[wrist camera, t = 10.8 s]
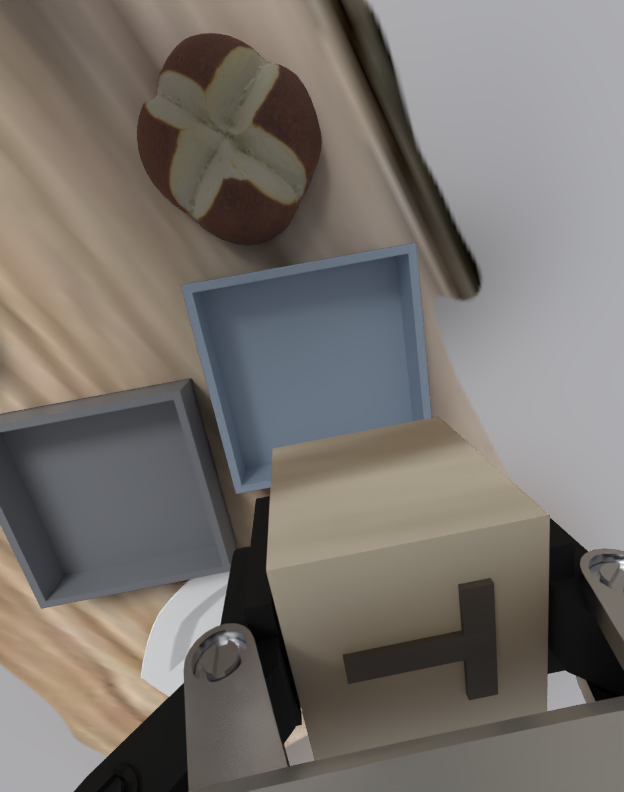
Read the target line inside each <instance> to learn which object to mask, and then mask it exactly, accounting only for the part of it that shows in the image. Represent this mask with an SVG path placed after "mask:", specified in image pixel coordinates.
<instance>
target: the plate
mask: <svg viewBox="0 0 624 792" xmlns="http://www.w3.org/2000/svg"><path fill="white" fill-rule="evenodd" d="M229 573H230V571H229V572H224V573H219V574H214V575H209V576H204V577H199V578H194V579H190V580H188V581H187V582H186V583H185V584H184V585H183V586H182V587H181V588H180V589H179V590H178V591H177V592H176V593H175V594H174V595H173V596H172V597H171V598H170V599H169V601H168V602H167V603H166V605H165V606H164V607H163V608H162V610H161V611H160V612H159V614H158V616H157V618H156V620H155V622H154V625H153V627H152V629H151V632H150V635H149V639H148V642H147V645H146V650H145V654H144V659H143V664H142V671H141V678H142V679H144V680H145V681H147V682H148V683H149V684H151V685H152V686H154V687H155V688H157V689H158V690H160V691H161V692H163V693H164V694H166V695H167V696H169V697H170V696H171V695H172V694H173V693H174V692H175V691H176V690H177V689H178V688H179V687H180V686H181V685H182V684H183V683H184V672H183V670H184V662H185V658H186V656H187V654H188V652H189V649H190V648H191V647H192V646H193V644H194V643H195V642H196V640H197V639H198V638H200V637H201V636H202V635H203V634H204V633H205V632H207V631H209V630H211V629H212V628H214V627H216V626H220V624H221V618H222V612H223V607H224V601H225V596H226V590H227V585H228V579H229ZM301 711H302V709H301Z"/></svg>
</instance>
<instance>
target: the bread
mask: <svg viewBox="0 0 624 792" xmlns="http://www.w3.org/2000/svg"><path fill="white" fill-rule="evenodd" d="M137 141H138V149H139V153H140V158H141V161H142V163H143V166H144V168H145V170H146V172H147V174H148V175H149V177H150V179H151V181H152V182H153V183H154V185H155V186H156V187H157V188H158V190H159V191H160V192H161V193H162V194H163V196H164V197H166V198H167V199H168V200H169V201H170V202H171V203H172V204H174V205H175V206H176V207H178V208H179V209H181V210H182V211H184V212H185V213H187V214H189V215H190V216H192V217H193V218H194V219H195V220H196V221H198V222H199V223H200V224H201V225H202V226H203V227H204V228H205V229H206V230H208V231H209V232H211V233H212V234H214V235H216V236H217V237H219V238H221V239H223V240H226V241H229V242H232V243H235V244H242V245H254V244H259V243H262V242H265V241H267V240H270V239H272V238H273V237H275V236H276V235H278V234H279V233H281V232H282V231H283V230H284V229H285V228H286V227H287V226H288V224H289V223H290V221H291V220H292V218H293V216H294V214H295V212H296V210H297V208H298V204H299V202H300V200H301V198H302V197H303V195H304V194H305V192H306V190H307V188H308V186H309V184H310V182H311V179H312V177H313V174H314V171H315V169H316V166H317V163H318V160H319V156H320V151H321V132H320V128H319V123H318V119H317V115H316V112H315V109H314V106H313V103H312V101H311V98H310V96H309V94H308V92H307V90H306V88H305V86H304V85H303V83H302V82H301V81H300V79H299V78H298V77H297V75H296V74H294V73H293V72H292V71H290V70H289V69H287V68H285V67H283V66H281V65H278V64H272V63H270V62H268V61H266V60H264V59H263V58H262V57H261V56H260V55H259V54H258V53H257V52H256V51H255V50H254V49H253V48H252V47H250V46H248V45H247V44H245V43H244V42H242V41H240V40H238V39H235V38H233V37H231V36H227V35H222V34H213V33H208V34H199V35H195V36H192V37H189V38H187V39H185V40H184V41H182V42H181V43H180V44H179V45H178V46H177V47H176V48H175V49H174V50H173V51H172V53H171V54H170V55H169V57H168V58H167V60H166V62H165V64H164V66H163V68H162V70H161V72H160V75H159V79H158V85H157V96H155V97H154V98H153V99H152V100H149V101H147V102H146V103H144V105H143V107H142V109H141V112H140V115H139V120H138V126H137Z"/></svg>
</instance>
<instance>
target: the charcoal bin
mask: <svg viewBox="0 0 624 792" xmlns="http://www.w3.org/2000/svg"><path fill="white" fill-rule="evenodd" d="M0 525H1V527H2V529H3V531H4V533H5V535H6V537H7V539H8V541H9V543H10V545H11V547H12V549H13V552H14V554H15V556H16V558H17V560H18V562H19V564H20V566H21V568H22V570H23V572H24V574H25V576H26V578H27V580H28V583H29V585H30V587H31V589H32V591H33V593H34V595H35V597H36V599H37V601H38V603H39V605H40V607H41V609H42V608H47V607H52V606H57V605H62V604H67V603H72V602H77V601H82V600H87V599H93V598H98V597H103V596H108V595H113V594H118V593H123V592H128V591H133V590H138V589H143V588H148V587H153V586H158V585H163V584H169V583H174V582H179V581H184V580H189V579H194V578H199V577H204V576H209V575H214V574H219V573H224V572H229V571H230V568H231V562H232V557H233V553H234V551H235V549H236V540H235V536H234V532H233V529H232V525H231V522H230V518H229V514H228V511H227V507H226V503H225V500H224V496H223V493H222V489H221V485H220V482H219V478H218V474H217V471H216V467H215V464H214V460H213V456H212V453H211V449H210V445H209V442H208V438H207V435H206V431H205V427H204V424H203V420H202V417H201V413H200V409H199V406H198V402H197V398H196V395H195V391H194V388H193V384H192V380H191V378H190V379H185V380H180V381H174V382H169V383H164V384H158V385H153V386H148V387H142V388H137V389H131V390H126V391H121V392H115V393H110V394H105V395H99V396H94V397H89V398H83V399H78V400H73V401H67V402H62V403H56V404H51V405H46V406H40V407H35V408H30V409H24V410H19V411H14V412H8V413H3V414H0Z"/></svg>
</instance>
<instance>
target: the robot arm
mask: <svg viewBox="0 0 624 792" xmlns="http://www.w3.org/2000/svg"><path fill="white" fill-rule="evenodd" d="M269 507H270V496H268V497H263V498H258V499H256V504H255V513H254V521H253V530H252V538H251V547H246V548H241V549H236V550H235V551H234V553H233V557H232V562H231V568H230V573H229V579H228V585H227V590H226V596H225V601H224V607H223V612H222V618H221V624H220V626H216V627H214V628H212V629H211V630H209V631H207V632H205V633H204V634H203V635H202V636H201V637H200V638H198V639H197V640H196V642H195V643H194V644H193V646H192V647H191V648H190V649H189V652H188V654H187V656H186V658H185V662H184V670H183V672H184V683H183V684H182V685H181V686H180V687H179V688H178V689H177V690H176V691H175V692H174V693H173V694H172V695H171V696H170V697H169V698H168V699H166V700H165V701H164V702H163V703H162V704H161V705H160V706H159V707H158V708H157V709H156V710H155V711H154V712H153V713H152V714H151V715H150V716H149V717H148V718H147V719H146V720H145V721H144V722H143V723H142V724H141V725H140V726H139V727H138V728H137V729H136V730H135V731H134V732H133V733H131V734H130V735H129V736H128V737H127V738H126V739H125V740H124V741H123V742H122V743H121V744H120V745H119V746H118V747H117V748H116V749H115V750H114V751H113V752H112V753H111V754H110V755H109V756H108V757H107V758H106V759H105V760H104V761H103V762H102V763H101V764H100V765H99V766H97V767H96V768H95V769H94V770H93V772H91V773H90V774H89V775H88V776H87V777H86V779H84V781H83V782H82V783H81V784H80V785H79V786H78V788H77V789H76V790H75V791H74V792H624V551H620V550H614V549H598V550H592V551H590V552H588V551H587V550H586V549H585V548H584V547H582V546H581V545H580V544H579V543H578V542H577V541H576V540H575V539H573V538H572V537H571V536H570V535H569V534H568V533H567V532H565V531H564V530H563V529H562V528H561V527H560V526H559V525H558V524H556V523H555V522H554V521H553V520H552V519H551V518H550V533H549V602H548V670H547V674H549V673H554V672H559V671H564V670H566V671H567V672H569V673H571V674H574V675H576V678H577V682H578V685H579V687H580V689H581V692H582V694H583V696H584V698H585V701H586V704H581V705H576V706H571V707H567V708H562V709H557V710H553V711H547V712H542V713H538V714H533V715H528V716H523V717H518V718H514V719H509V720H504V721H499V722H494V723H490V724H485V725H480V726H475V727H470V728H466V729H461V730H456V731H451V732H447V733H442V734H437V735H432V736H428V737H423V738H418V739H414V740H409V741H404V742H400V743H395V744H390V745H386V746H381V747H376V748H372V749H367V750H363V751H358V752H353V753H349V754H344V755H339V756H335V757H330V758H325V759H321V760H316V761H312V762H307V763H302V764H298V765H293V766H290V764H289V761H288V757H287V753H286V749H285V745H284V743H285V741H286V740H287V739H288V737H289V736H290V734H291V733H292V732H293V730H294V729H295V727H296V726H298V725H302V719H301V705H300V701H299V697H298V693H297V689H296V685H295V682H294V678H293V674H292V670H291V666H290V662H289V658H288V654H287V650H286V647H285V643H284V639H283V635H282V631H281V627H280V623H279V619H278V615H277V612H276V608H275V604H274V600H273V596H272V592H271V588H270V584H269V580H268V577H267V573H266V563H267V544H268V526H269Z"/></svg>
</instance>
